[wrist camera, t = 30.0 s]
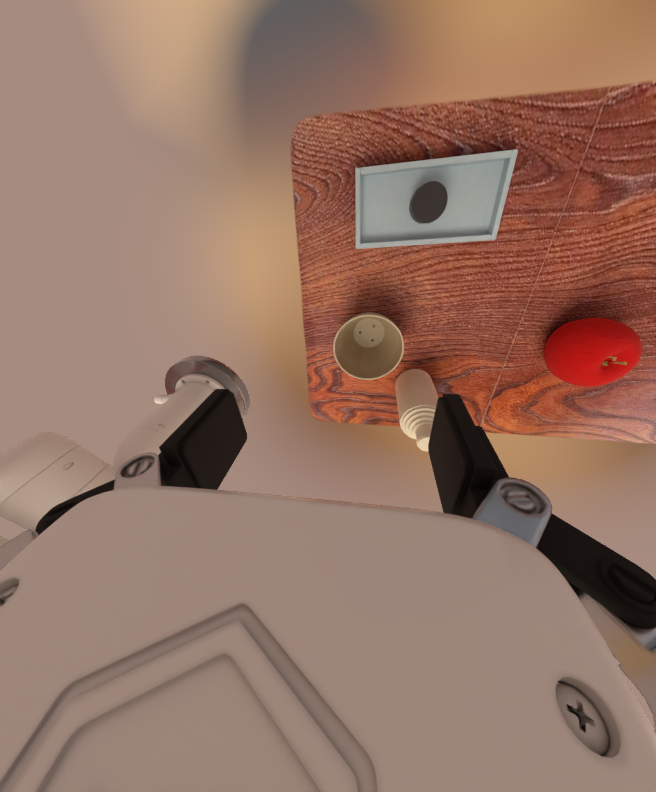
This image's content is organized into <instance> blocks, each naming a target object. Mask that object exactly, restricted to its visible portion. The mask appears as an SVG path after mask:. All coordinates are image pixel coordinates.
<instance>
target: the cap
mask: <svg viewBox="0 0 656 792" xmlns="http://www.w3.org/2000/svg"><path fill="white" fill-rule="evenodd" d="M410 200H411V201H410V205H409V211H410V215H411V217H412V219H413V220H414V221H416V222H417V223H418V224H424V223H431V222H433V221H435V220H437V219H438V218H439V217H440V216H441V215H442V214H443V212H444V210H445V208H446V205H447V201H448V194H447V190H446V188H445V187H444V185H443V184H441V183H440V182H437V181H430V182H427V183H425V184H424V185H422V186H421V187H420V188H418V189H417V190H416V192H415V193H414V194H413V196H412V198H411V199H410Z"/></svg>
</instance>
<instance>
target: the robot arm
mask: <svg viewBox="0 0 656 792" xmlns="http://www.w3.org/2000/svg"><path fill="white" fill-rule="evenodd" d="M154 401H155V403H157V404H162V405H161V406H160V407H159V408H158V409H156V410H155V411H154V412H153V413H152V414H151V415H149V416H148V417H147V418H146V419H145V420H143V421H142V422H141V423H140V424H139V425H137V426H136V427H135V428H134V429H133V430H131V431H130V432H129V433H128V434H127V435H126V436H125V437H124V438H123V439H122V440H121V441H120V443H119V445H118V447H117V449H116V452H115V456H114V461H113V466H111V465H110V464H107V463H105V462H104V461H102V460H101V459H99V458H98V457H96V456H95V455H93V454H92V453H90V452H89V451H88V450H86V449H84V448H83V447H82V446H80V445H78V444H77V443H76V442H74V441H72V440H71V439H69V438H67V437H65V436H63V435H60V434H57V433H51V432H48V433H41V434H37V435H34V436H31V437H29V438H27V439H25V440H23V441H21V442H19V443H17V444H16V445H14V446H12V447H10V448H9V449H7V450H5V451H4V452H2V453H1V454H0V516H1V517H3V518H5V519H7V520H9V521H11V522H13V523H15V524H17V525H19V526H21V527H23V528H25V529H27V531H25V532H23V533H22V534H20V535H18V536H17V537H15V538H13V539H12V540H10V541H9V540H7V539H5V538H3V537H1V536H0V792H656V580H655V579H654V578H653V577H652V576H651V575H650V574H649V573H647V572H646V571H645V570H643V569H641V568H640V567H639V566H637V565H636V564H634V563H633V562H631V561H629V560H628V559H626V558H624V557H623V556H621V555H619V554H618V553H616V552H614V551H613V550H611V549H610V548H608V547H606V546H605V545H603V544H601V543H599V542H598V541H596V540H595V539H593V538H591V537H590V536H588V535H586V534H585V533H583V532H581V531H580V530H578V529H576V528H575V527H573V526H571V525H570V524H568V523H567V522H565V521H563V520H562V519H560V518H558V517H557V516H555V515H553V514H552V505H551V502H550V500H549V499H548V497H547V496H546V495H545V494H544V493H543V492H542V491H541V490H540V489H539V488H537V487H536V486H534V485H532V484H531V483H529V482H526V481H524V480H521V479H517V478H509V476H508V474H507V473H506V471H505V469H504V467H503V465H502V463H501V462H500V460H499V458H498V456H497V454H496V452H495V450H494V448H493V447H492V445H491V443H490V441H489V439H488V438H487V436H486V434H485V432H484V430H483V429H482V427H480V426H475V424H474V422H473V421H472V419H471V417H470V415H469V413H468V411H467V409H466V407H465V405H464V403H463V401H462V399H461V397H460V395H458V394H444V395H443V397H439V398H438V400H437V405H436V410H435V415H434V419H433V424H432V429H431V434H430V439H429V444H428V450H429V455H430V459H431V463H432V467H433V471H434V475H435V480H436V484H437V488H438V492H439V496H440V500H441V504H442V508H443V512H444V513H441V512H435V511H427V510H419V509H410V508H401V507H393V506H383V505H373V504H363V503H353V502H343V501H333V500H323V499H322V500H321V499H312V498H301V497H291V496H280V495H269V494H257V493H247V492H236V491H224V490H217V489H218V487H219V486H220V484H221V482H222V481H223V479H224V477H225V476H226V474H227V472H228V471H229V469H230V467H231V466H232V464H233V462H234V460H235V459H236V457H237V455H238V454H239V452H240V450H241V449H242V447H243V445H244V443H245V442H246V440H247V433H246V430H245V427H244V424H243V421H242V417H241V414H240V411H239V408H238V405H237V402H236V399H235V395H234V393H233V392H231V391H230V390H229V389H225V388H224V387H223V386H222V385H221V384H220V383H219V382H218V381H216V380H215V379H213V378H211V377H209V376H206V375H203V374H197V373H193V374H188V375H185V376H184V377H182V378H181V379H180V380H179V381H178V382H177V384H176V387H175V392H174V393H173V394H169V395H168V396H167V395H156V396H155V398H154ZM614 657H615V658H616V659H617V660H618V661H619V662H620V664H619V665H618V664H617V662H616V660H615V658H614ZM622 672H623V673H624V674H625V675H626V676H627V677H628V678H629V679H630V680H631V681H632V683H633V684H634V685H635V686H636V688H637V689H638V690H639V691H640V693H641V694H642V696H643V697H644V698H645V700H646V702H647V704H648V706H649V708H650V710H651V712H652V714H653V719H654V725H655V730H653V728H652V726H651V724H650V722H649V720H648V718H647V716H646V715H645V713H644V711H643V709H642V707H641V705H640V704H639V702H638V700H637V698H636V696H635V695H634V693H633V691H632V689H631V687H630V686H629V684H628V682H627V681H626V678H625V676H624V675H623V673H622ZM557 683H560V684H557Z"/></svg>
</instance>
